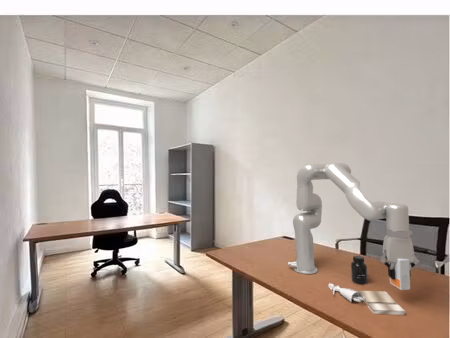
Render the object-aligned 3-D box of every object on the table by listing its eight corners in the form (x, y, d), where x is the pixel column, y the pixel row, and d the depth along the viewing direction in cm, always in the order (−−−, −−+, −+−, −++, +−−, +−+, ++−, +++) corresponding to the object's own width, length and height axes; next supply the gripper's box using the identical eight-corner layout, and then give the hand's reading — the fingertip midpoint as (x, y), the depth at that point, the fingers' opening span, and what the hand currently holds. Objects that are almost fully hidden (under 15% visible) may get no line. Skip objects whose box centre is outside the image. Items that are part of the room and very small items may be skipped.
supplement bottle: (361, 286, 114) (360, 260, 115) (348, 280, 120) (347, 256, 121) (370, 282, 117) (369, 257, 118) (357, 277, 124) (356, 254, 124)
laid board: (373, 313, 92) (373, 309, 92) (367, 306, 97) (367, 302, 97) (405, 315, 90) (405, 310, 90) (397, 307, 95) (397, 303, 95)
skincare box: (389, 283, 102) (388, 255, 103) (398, 282, 103) (397, 254, 103) (400, 290, 96) (399, 260, 97) (410, 289, 97) (409, 259, 97)
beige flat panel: (366, 305, 98) (366, 301, 98) (358, 293, 106) (358, 290, 105) (396, 306, 96) (396, 302, 96) (385, 294, 104) (385, 291, 104)
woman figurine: (350, 297, 96) (318, 282, 113) (351, 309, 95) (319, 292, 112) (372, 291, 100) (338, 278, 117) (373, 303, 99) (339, 287, 116)
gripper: (414, 232, 103) (416, 275, 102) (371, 231, 105) (372, 273, 105) (426, 236, 95) (428, 283, 95) (380, 235, 97) (381, 281, 97)
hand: (399, 277), depth 100 cm, fingers closed on skincare box, 5 cm apart
